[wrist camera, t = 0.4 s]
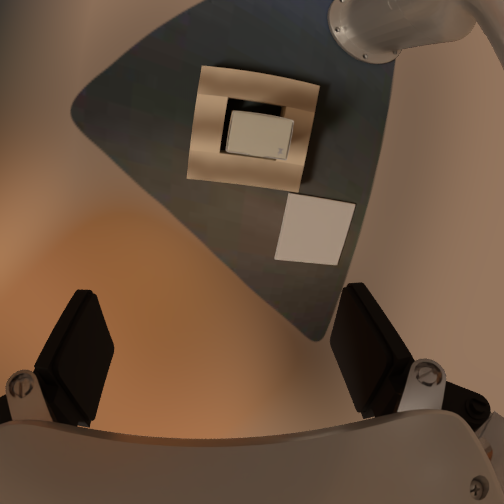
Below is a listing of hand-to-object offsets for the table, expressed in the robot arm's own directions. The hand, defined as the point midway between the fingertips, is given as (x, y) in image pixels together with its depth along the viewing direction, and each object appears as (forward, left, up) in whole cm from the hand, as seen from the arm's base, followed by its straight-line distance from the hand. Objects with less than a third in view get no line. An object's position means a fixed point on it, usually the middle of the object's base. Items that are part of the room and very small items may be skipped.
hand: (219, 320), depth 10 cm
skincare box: (-5, +3, -32) cm, 33 cm away
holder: (-5, +3, -32) cm, 33 cm away
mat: (+9, +16, -32) cm, 37 cm away
